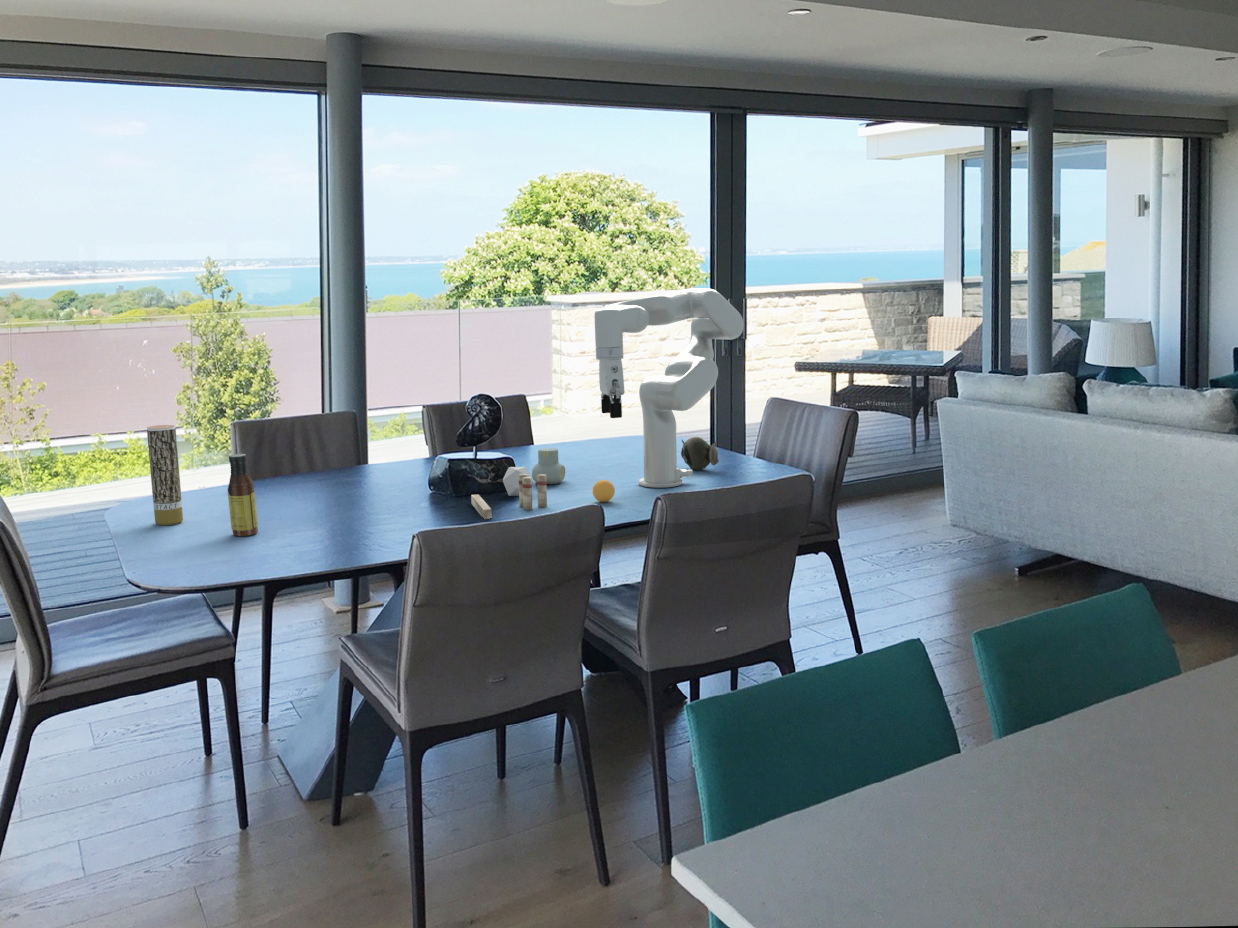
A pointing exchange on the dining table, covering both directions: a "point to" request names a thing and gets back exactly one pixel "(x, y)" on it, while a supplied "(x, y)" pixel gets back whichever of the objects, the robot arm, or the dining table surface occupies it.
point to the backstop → (481, 506)
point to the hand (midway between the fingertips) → (611, 415)
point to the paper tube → (165, 474)
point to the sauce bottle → (241, 498)
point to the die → (514, 479)
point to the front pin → (542, 490)
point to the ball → (603, 490)
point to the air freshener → (549, 466)
